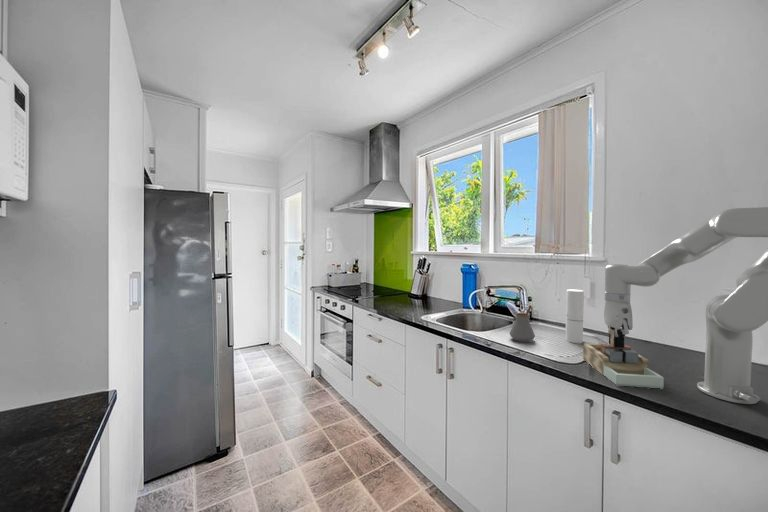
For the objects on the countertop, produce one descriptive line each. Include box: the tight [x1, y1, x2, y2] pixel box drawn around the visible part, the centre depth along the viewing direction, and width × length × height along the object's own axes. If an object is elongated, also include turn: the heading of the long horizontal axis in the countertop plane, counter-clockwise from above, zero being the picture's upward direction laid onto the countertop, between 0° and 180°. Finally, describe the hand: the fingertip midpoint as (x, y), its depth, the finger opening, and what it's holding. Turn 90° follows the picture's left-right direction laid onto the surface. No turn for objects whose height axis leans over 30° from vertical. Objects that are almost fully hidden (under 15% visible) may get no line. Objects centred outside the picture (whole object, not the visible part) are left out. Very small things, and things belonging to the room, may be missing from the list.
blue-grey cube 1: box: [619, 348, 640, 364], centre depth 108 cm, size 4×4×4 cm
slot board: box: [582, 342, 649, 375], centre depth 113 cm, size 15×14×7 cm
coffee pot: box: [509, 305, 536, 343], centre depth 151 cm, size 21×12×15 cm, turn 139°
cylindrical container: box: [565, 288, 585, 344], centre depth 145 cm, size 7×7×25 cm
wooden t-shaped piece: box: [600, 329, 632, 354], centre depth 112 cm, size 2×9×10 cm, turn 79°
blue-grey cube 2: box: [604, 348, 623, 363], centre depth 109 cm, size 4×4×4 cm
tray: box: [603, 366, 665, 390], centre depth 102 cm, size 8×14×4 cm, turn 80°
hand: (616, 345), depth 112 cm, fingers closed on wooden t-shaped piece, 2 cm apart
